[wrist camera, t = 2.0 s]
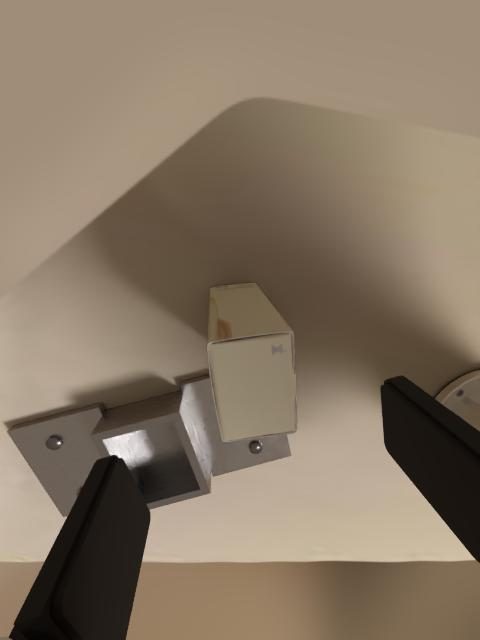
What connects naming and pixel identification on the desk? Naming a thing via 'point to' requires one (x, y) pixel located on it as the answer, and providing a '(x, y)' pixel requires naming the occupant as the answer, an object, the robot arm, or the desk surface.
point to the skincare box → (250, 364)
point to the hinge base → (141, 446)
